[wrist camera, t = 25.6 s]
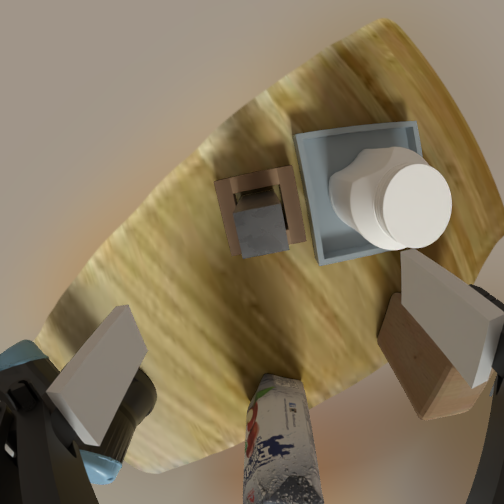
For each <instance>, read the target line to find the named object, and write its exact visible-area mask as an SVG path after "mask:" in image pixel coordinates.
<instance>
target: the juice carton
mask: <svg viewBox="0 0 504 504" xmlns="http://www.w3.org/2000/svg"><path fill="white" fill-rule="evenodd" d="M243 504H324V499H323V495H322V490H321V484H320V476H319V470H318V464H317V457H316V451H315V445H314V439H313V433H312V427H311V421H310V416H309V410H308V404H307V399H306V395H305V390H304V387H303V383H302V382H301V381H299V380H295V379H289V378H284V377H280V376H276V375H272V374H267V373H266V374H264V376H263V378H262V379H261V382H260V384H259V386H258V389H257V391H256V393H255V395H254V396H253V398H252V400H251V402H250V404H249V407H248V410H247V419H246V439H245V462H244V481H243Z"/></svg>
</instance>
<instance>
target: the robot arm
mask: <svg viewBox="0 0 504 504" xmlns="http://www.w3.org/2000/svg"><path fill="white" fill-rule="evenodd" d="M400 253H401V291H402V296H401V304H402V305H403V306H404V307H405V308H406V310H407V311H408V312H409V313H410V314H411V315H412V316H413V317H414V319H415V320H416V321H417V322H418V323H419V324H420V326H421V327H422V328H423V329H424V330H425V331H426V333H427V334H428V335H429V336H430V337H431V339H432V340H433V341H434V342H435V343H436V344H437V346H438V347H439V348H440V349H441V351H442V352H443V353H444V354H445V355H446V357H447V358H448V359H449V360H450V362H451V363H452V364H453V365H454V367H455V368H456V369H457V371H458V372H459V373H460V374H461V376H462V377H463V378H464V380H465V381H466V382H467V383H468V385H469V386H470V387H471V389H472V388H474V387H476V386H478V385H480V384H482V383H484V382H486V381H488V378H489V375H490V372H491V369H492V368H493V369H494V370H495V371H496V372H497V376H496V379H495V382H494V385H493V387H492V390H491V392H490V395H489V396H492V395H493V400H492V406H491V413H490V418H489V423H488V429H487V433H486V438H485V443H484V446H483V451H482V454H481V458H480V462H479V466H478V469H477V472H476V475H475V479H474V482H473V485H472V488H471V491H470V493H469V496H468V499H467V502H466V504H504V304H503V303H502V302H500V301H499V300H496V298H495V297H493V296H492V295H490V294H489V293H488V292H487V291H485V290H483V289H482V288H480V287H477V286H475V285H472V284H470V285H467V284H466V283H465V282H463V281H462V280H460V279H459V278H458V277H456V276H455V275H453V274H452V273H450V272H449V271H448V270H446V269H445V268H443V267H442V266H440V265H439V264H437V263H436V262H434V261H433V260H431V259H430V258H428V257H427V256H425V255H424V254H422V253H421V252H419V251H417V250H416V249H410V250H405V251H401V252H400ZM147 351H148V350H147V348H146V345H145V343H144V341H143V339H142V336H141V334H140V332H139V329H138V327H137V325H136V322H135V320H134V317H133V315H132V312H131V310H130V307H129V305H123V306H116V307H115V308H114V309H113V310H112V312H111V313H110V314H109V315H108V316H107V317H106V318H105V320H104V321H103V322H102V323H101V324H100V325H99V327H98V328H97V329H96V330H95V331H94V332H93V334H92V335H91V336H90V337H89V338H88V340H87V341H86V342H85V343H84V344H83V346H82V347H81V348H80V349H79V350H78V352H77V353H76V354H75V355H74V357H73V358H72V359H71V360H70V362H69V363H67V364H66V366H65V367H64V368H63V369H62V371H61V372H60V371H59V370H58V369H57V368H56V367H55V366H54V364H53V363H52V362H51V361H50V360H49V357H48V356H47V355H45V354H44V353H43V352H42V351H41V350H40V349H39V348H38V346H37V345H36V344H35V343H34V342H32V341H30V340H22V341H20V342H18V343H16V344H15V345H13V346H12V347H10V348H8V349H7V350H6V351H4V352H3V353H1V354H0V504H99V503H98V500H97V498H96V496H95V493H94V491H93V488H92V486H91V483H94V484H102V485H104V484H109V483H111V482H113V481H114V480H115V478H116V476H117V474H118V472H119V470H120V469H121V468H122V463H123V460H124V457H125V455H126V452H127V449H128V447H129V444H130V441H131V439H132V436H133V433H134V431H135V429H136V426H137V425H139V424H140V423H141V422H142V420H143V419H144V418H145V417H146V416H148V415H149V414H150V413H151V412H152V410H153V408H154V405H155V403H156V400H157V394H156V390H155V387H154V385H153V384H152V382H151V381H150V379H149V378H148V377H147V376H146V375H145V374H144V373H143V372H142V371H141V370H139V369H138V368H139V366H140V364H141V362H142V360H143V359H144V357H145V355H146V353H147Z"/></svg>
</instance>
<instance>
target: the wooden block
mask: <svg viewBox="0 0 504 504" xmlns="http://www.w3.org/2000/svg"><path fill="white" fill-rule="evenodd" d="M401 296H402V293H393V295H392V296H391V299H390V302H389V306H388V309H387V312H386V315H385V318H384V321H383V324H382V327H381V330H380V333H379V335H378V339H377V342H378V345H379V347H380V348H381V350H382V352H383V354H384V355H385V357H386V359H387V361H388V362H389V364H390V366H391V368H392V369H393V371H394V373H395V375H396V377H397V378H398V380H399V382H400V384H401V386H402V387H403V389H404V391H405V393H406V395H407V397H408V398H409V400H410V402H411V404H412V406H413V408H414V410H415V412H416V413H417V415H418V417H419V418H420V419H421V420H430V419H435V418H441V417H446V416H450V415H455V414H459V413H464V412H467V411H468V410H470V409H471V408H472V406H473V405H474V403H475V402H476V400H477V398H478V397H479V395H480V394H481V392H482V391H483V389H484V387H485V386H486V384H487V382H488V381H486V382H484V383H482V384H480V385H478V386H476V387H474V388H472V389H471V387H470V386H469V385H468V383H467V382H466V381H465V380H464V378H463V377H462V376H461V374H460V373H459V372H458V371H457V369H456V368H455V367H454V365H453V364H452V363H451V362H450V360H449V359H448V358H447V357H446V355H445V354H444V353H443V352H442V351H441V349H440V348H439V347H438V346H437V344H436V343H435V342H434V341H433V340H432V339H431V337H430V336H429V335H428V334H427V333H426V331H425V330H424V329H423V328H422V327H421V326H420V324H419V323H418V322H417V321H416V320H415V319H414V317H413V316H412V315H411V314H410V313H409V312H408V311H407V310H406V308H405V307H404V306H403V305H402V304H401ZM493 371H494V369H493V368H492V369H491V372H490V375H489V378H488V380H489V379H490V377H491V375H492V373H493Z"/></svg>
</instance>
